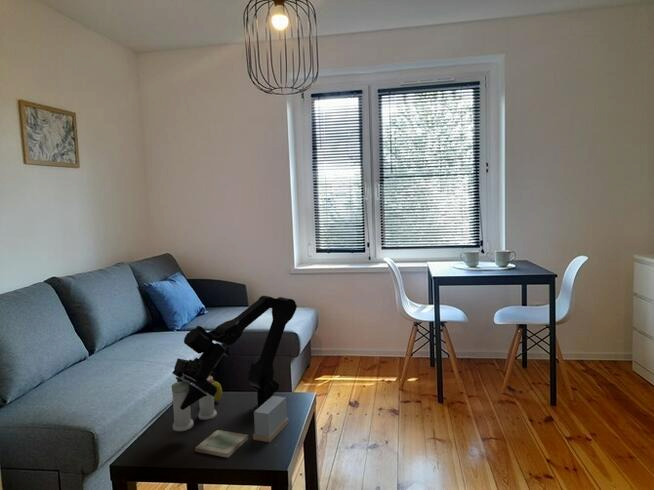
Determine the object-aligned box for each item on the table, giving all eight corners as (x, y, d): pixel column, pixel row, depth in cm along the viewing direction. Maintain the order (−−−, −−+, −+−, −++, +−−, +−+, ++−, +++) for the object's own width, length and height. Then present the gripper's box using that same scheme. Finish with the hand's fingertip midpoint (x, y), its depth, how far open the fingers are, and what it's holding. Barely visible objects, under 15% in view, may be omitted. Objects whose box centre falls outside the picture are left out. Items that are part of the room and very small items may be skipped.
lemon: (207, 406, 162) (205, 384, 162) (206, 400, 168) (205, 379, 167) (223, 404, 164) (221, 382, 163) (222, 398, 169) (221, 377, 168)
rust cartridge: (205, 410, 159) (203, 374, 158) (220, 413, 157) (218, 376, 156) (194, 418, 153) (192, 380, 152) (209, 420, 151) (207, 382, 150)
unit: (273, 420, 150) (272, 395, 149) (288, 422, 148) (287, 397, 147) (253, 439, 138) (251, 412, 137) (269, 442, 136) (268, 414, 135)
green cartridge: (181, 420, 142) (178, 379, 141) (197, 423, 140) (194, 381, 139) (168, 429, 137) (165, 387, 136) (184, 432, 135) (181, 389, 134)
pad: (217, 433, 142) (217, 429, 142) (248, 438, 138) (248, 434, 138) (195, 451, 132) (195, 447, 132) (228, 457, 128) (227, 453, 128)
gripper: (176, 342, 146) (144, 386, 139) (205, 354, 133) (171, 403, 126) (200, 359, 152) (170, 402, 145) (230, 372, 139) (199, 420, 132)
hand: (177, 406), depth 137 cm, fingers closed on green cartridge, 5 cm apart
